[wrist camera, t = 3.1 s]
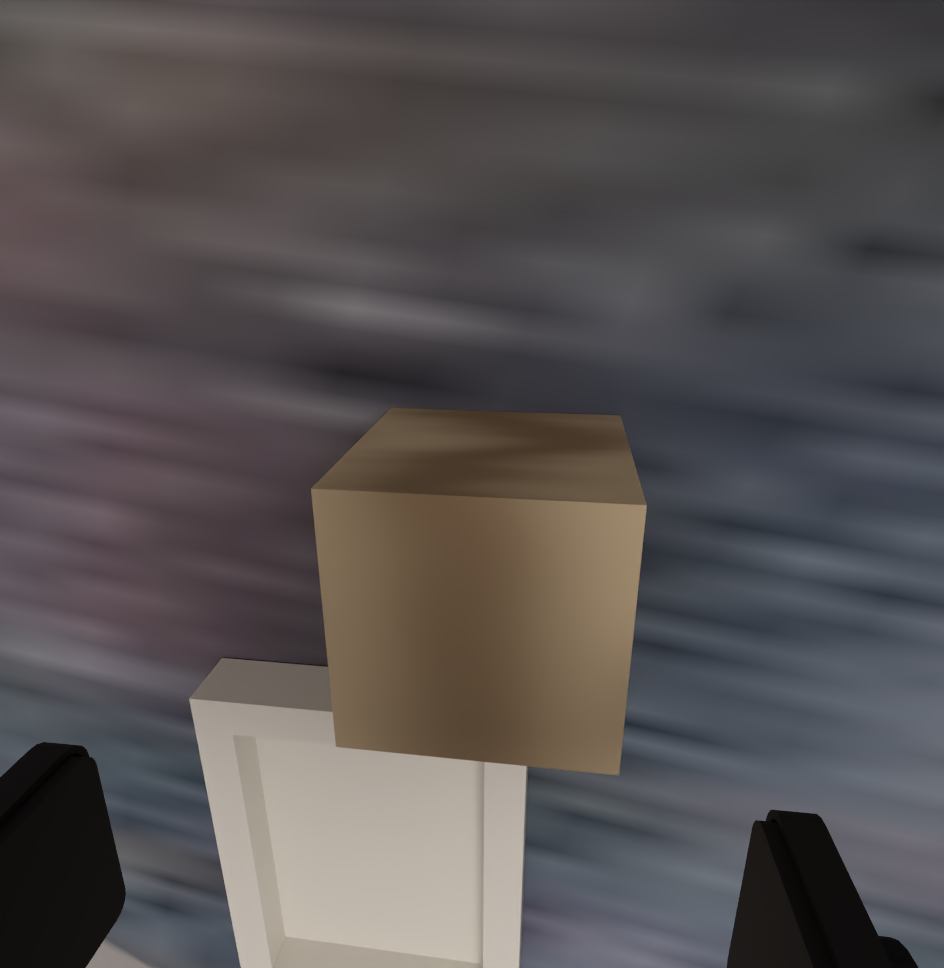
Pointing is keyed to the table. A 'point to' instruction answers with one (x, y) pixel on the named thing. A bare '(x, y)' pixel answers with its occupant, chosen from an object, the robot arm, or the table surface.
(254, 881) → the dish
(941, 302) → the table surface
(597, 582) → the oak cube
